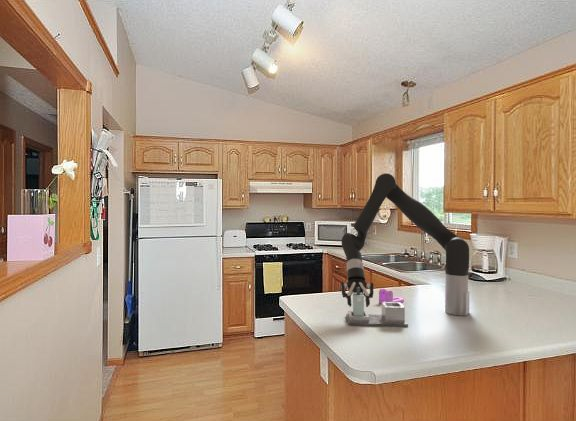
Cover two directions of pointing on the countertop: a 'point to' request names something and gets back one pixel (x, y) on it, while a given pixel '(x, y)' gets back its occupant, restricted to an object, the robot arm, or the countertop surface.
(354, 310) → the grey bottle
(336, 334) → the countertop surface
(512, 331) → the countertop surface
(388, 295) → the bracket
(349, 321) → the dark gray base plate
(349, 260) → the robot arm
